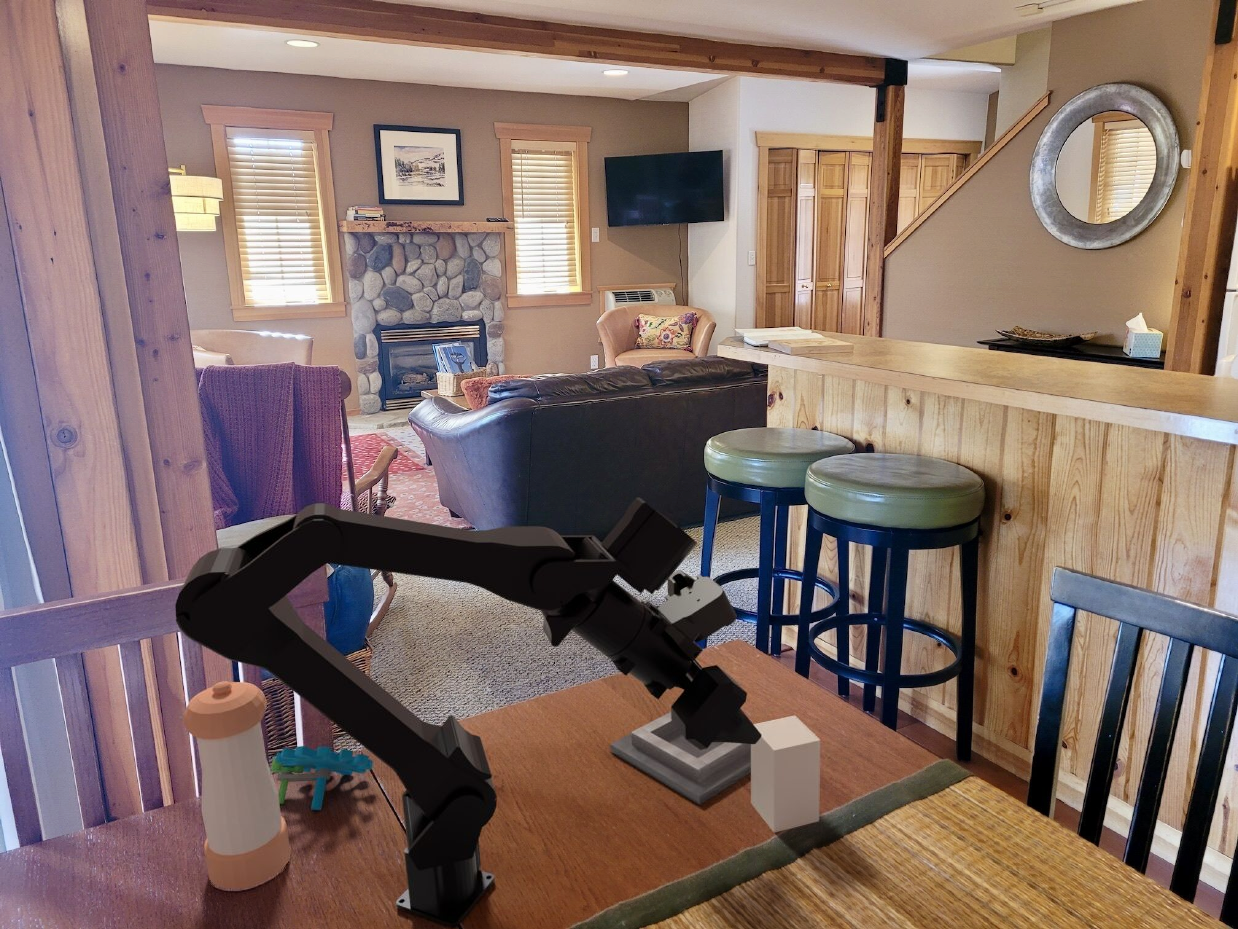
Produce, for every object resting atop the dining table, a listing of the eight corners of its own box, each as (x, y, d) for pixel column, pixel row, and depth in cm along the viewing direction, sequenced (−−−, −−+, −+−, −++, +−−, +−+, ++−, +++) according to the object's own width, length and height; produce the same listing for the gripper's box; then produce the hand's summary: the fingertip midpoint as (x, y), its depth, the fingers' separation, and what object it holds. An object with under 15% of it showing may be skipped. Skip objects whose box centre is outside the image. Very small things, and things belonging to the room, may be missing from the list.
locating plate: (699, 805, 89) (698, 783, 88) (610, 751, 99) (609, 732, 98) (784, 751, 98) (784, 731, 97) (694, 707, 108) (694, 689, 107)
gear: (390, 760, 96) (343, 737, 88) (381, 816, 93) (332, 798, 85) (303, 764, 99) (250, 742, 91) (292, 819, 96) (236, 802, 87)
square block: (773, 832, 84) (774, 750, 82) (751, 803, 89) (750, 724, 87) (819, 821, 86) (820, 740, 83) (794, 792, 90) (795, 715, 88)
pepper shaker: (291, 878, 80) (264, 692, 76) (206, 902, 78) (172, 710, 73) (290, 833, 87) (264, 658, 83) (211, 853, 84) (180, 674, 80)
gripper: (722, 595, 69) (841, 694, 75) (645, 530, 86) (747, 614, 92) (633, 703, 68) (760, 795, 74) (574, 616, 86) (680, 695, 91)
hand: (736, 715), depth 83 cm, fingers open, 9 cm apart
